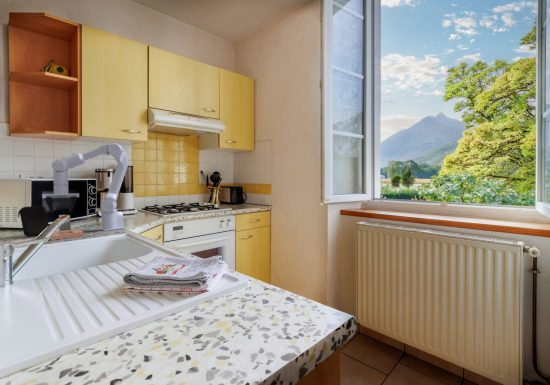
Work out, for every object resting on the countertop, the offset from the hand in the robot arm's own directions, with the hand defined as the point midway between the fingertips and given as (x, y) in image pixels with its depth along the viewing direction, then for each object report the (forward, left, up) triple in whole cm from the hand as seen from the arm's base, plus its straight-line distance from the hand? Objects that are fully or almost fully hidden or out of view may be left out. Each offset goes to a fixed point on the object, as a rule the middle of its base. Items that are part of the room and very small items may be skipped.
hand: (61, 212), depth 144 cm
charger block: (-1, 0, -10) cm, 10 cm away
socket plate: (+1, +12, -10) cm, 16 cm away
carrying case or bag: (+10, 0, -10) cm, 14 cm away
